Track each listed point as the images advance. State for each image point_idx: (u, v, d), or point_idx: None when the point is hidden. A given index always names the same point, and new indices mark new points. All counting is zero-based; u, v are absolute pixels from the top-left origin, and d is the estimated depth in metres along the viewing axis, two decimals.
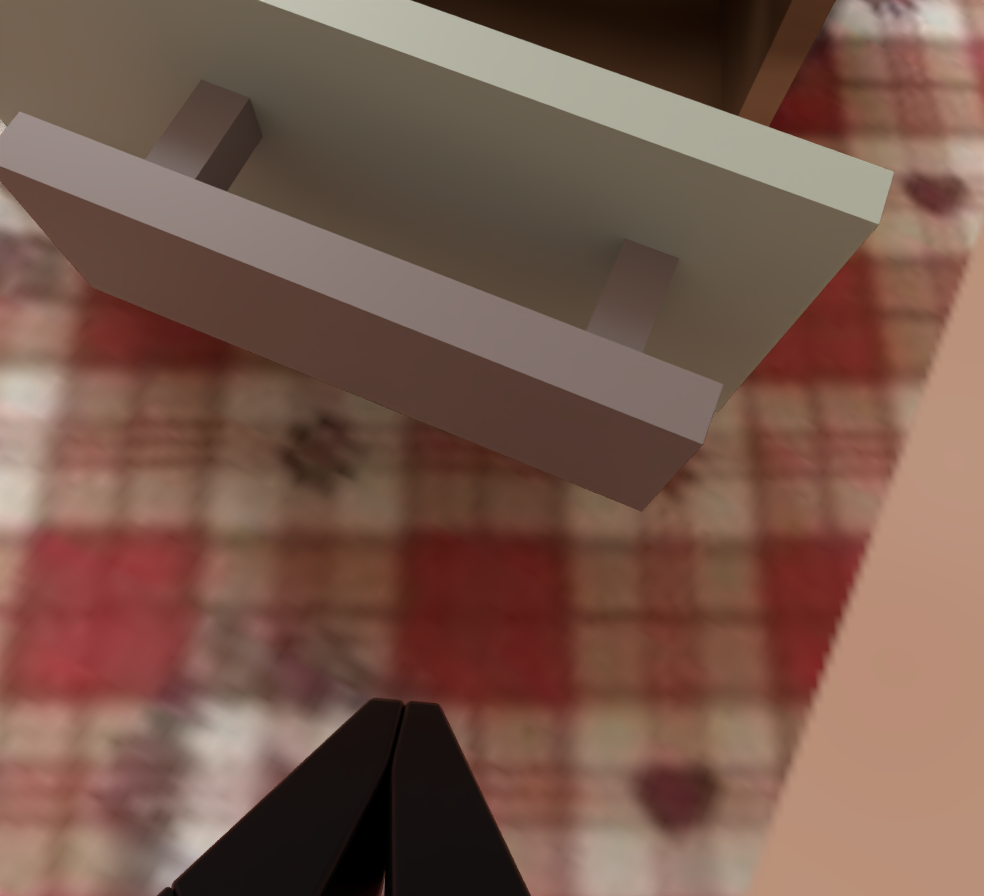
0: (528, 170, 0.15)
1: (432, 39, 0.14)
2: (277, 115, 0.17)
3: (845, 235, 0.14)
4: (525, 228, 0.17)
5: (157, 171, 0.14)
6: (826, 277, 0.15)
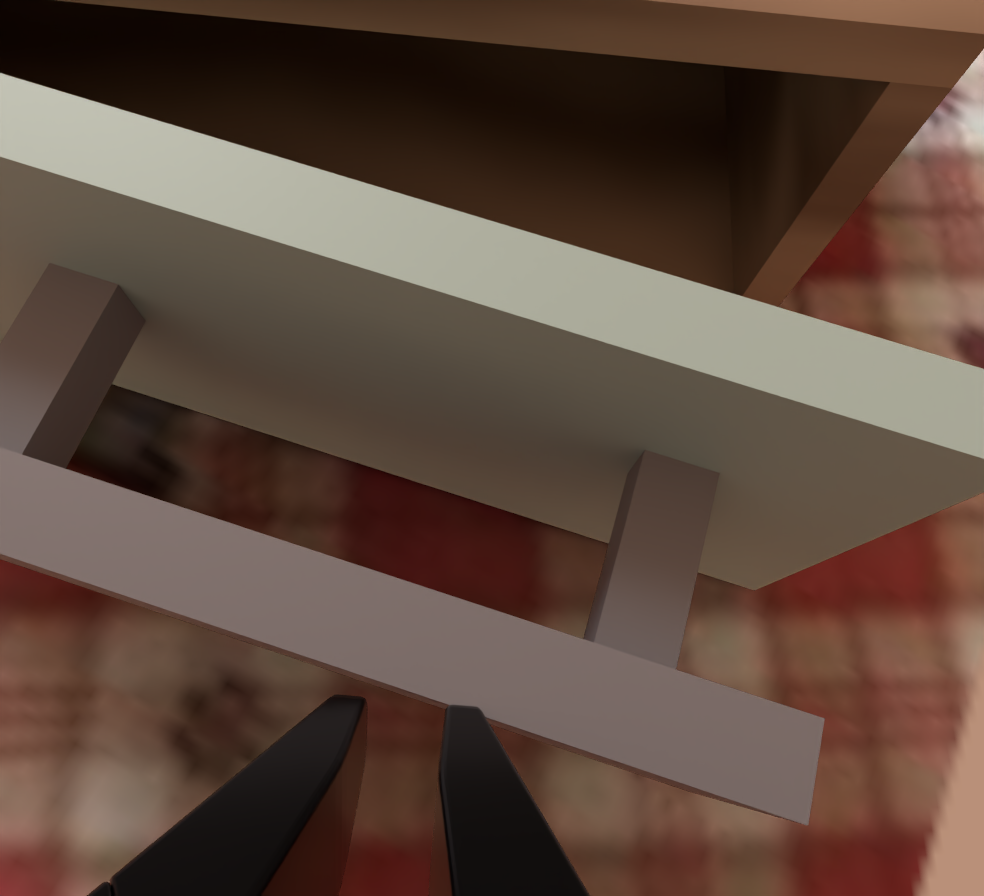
0: (509, 379, 0.11)
1: (360, 230, 0.10)
2: (159, 303, 0.13)
3: (972, 477, 0.10)
4: (506, 428, 0.13)
5: None
6: (933, 509, 0.11)
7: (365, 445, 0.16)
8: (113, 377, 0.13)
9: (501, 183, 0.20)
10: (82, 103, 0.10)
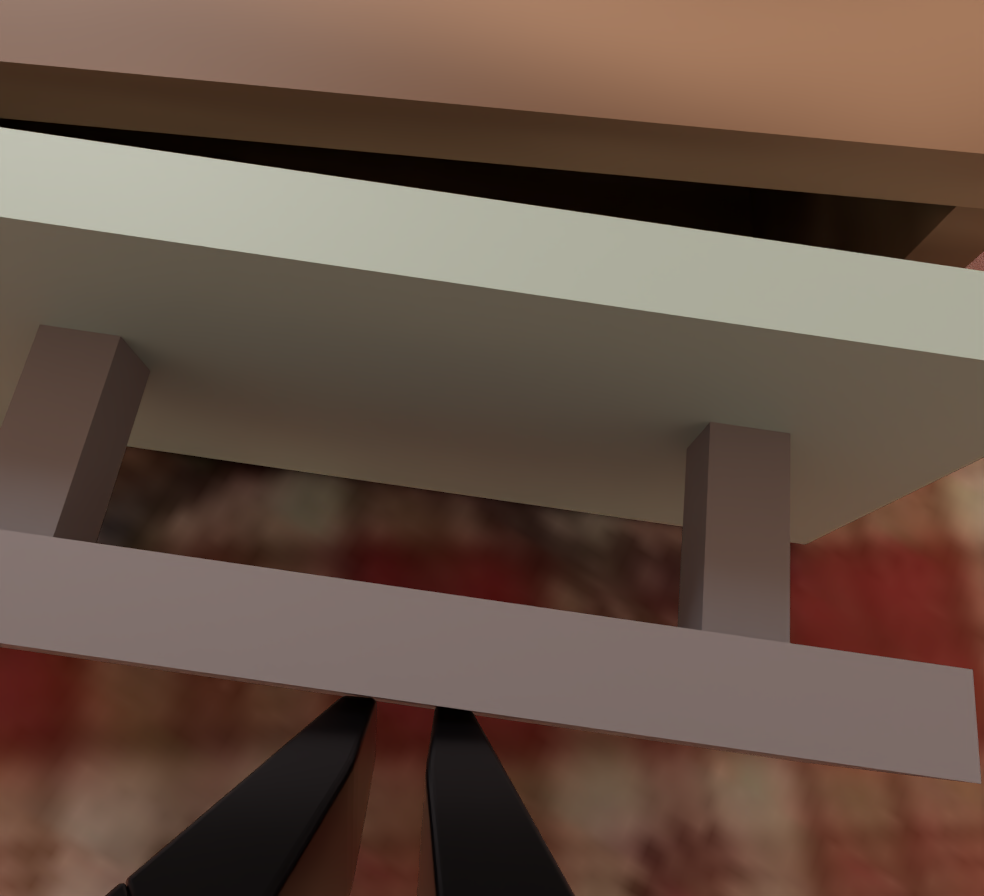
0: (567, 371, 0.10)
1: (401, 235, 0.09)
2: (167, 349, 0.12)
3: None
4: (557, 423, 0.12)
5: (7, 541, 0.09)
6: None
7: (392, 463, 0.15)
8: (128, 436, 0.12)
9: None
10: (65, 143, 0.09)
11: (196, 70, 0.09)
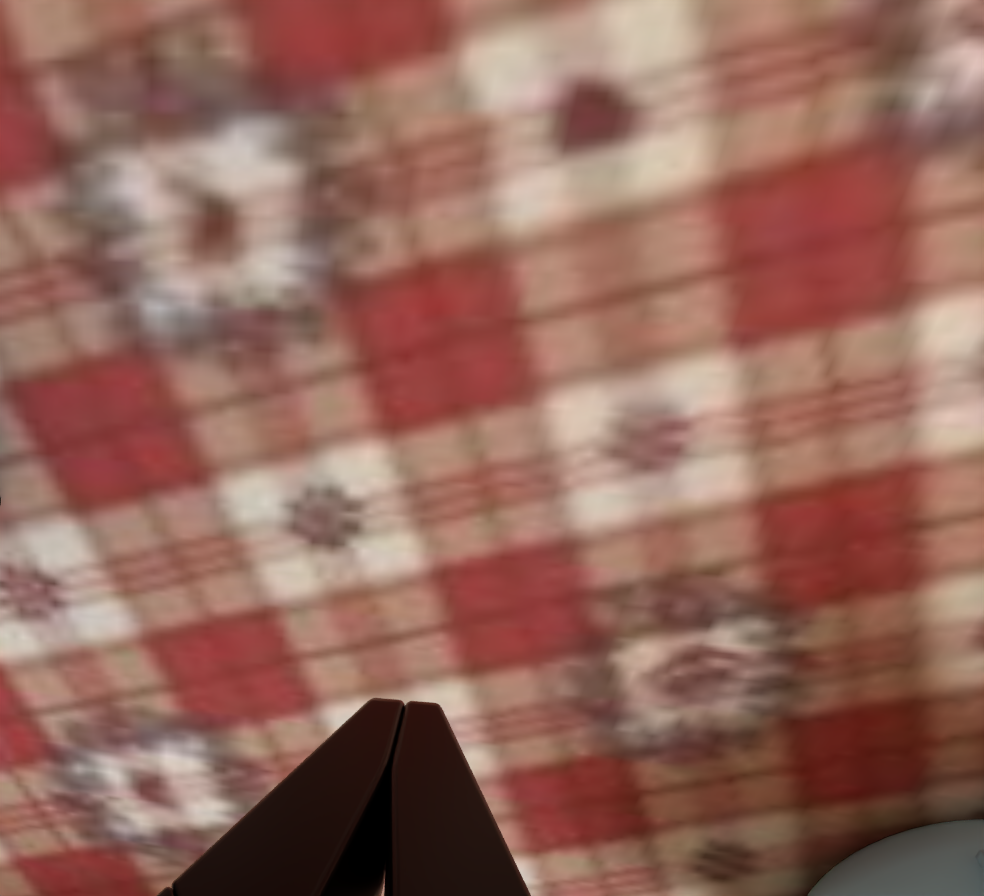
0: None
1: None
2: None
3: None
4: None
5: None
6: None
7: None
8: None
9: None
10: None
11: None
